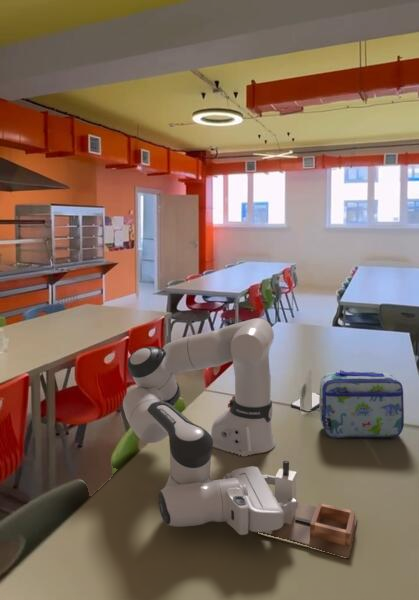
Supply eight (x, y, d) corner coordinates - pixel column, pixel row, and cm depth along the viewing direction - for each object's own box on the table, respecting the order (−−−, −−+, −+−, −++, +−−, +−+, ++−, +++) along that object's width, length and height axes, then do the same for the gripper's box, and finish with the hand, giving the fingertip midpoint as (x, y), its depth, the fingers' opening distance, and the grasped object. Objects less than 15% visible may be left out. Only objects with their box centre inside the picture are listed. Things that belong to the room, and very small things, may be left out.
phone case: (309, 414, 172) (331, 400, 184) (309, 410, 172) (331, 396, 183) (289, 407, 178) (311, 395, 190) (289, 403, 178) (311, 391, 189)
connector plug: (274, 520, 110) (275, 464, 107) (278, 510, 113) (279, 456, 111) (291, 524, 108) (292, 468, 105) (295, 514, 112) (296, 459, 109)
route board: (257, 534, 106) (257, 518, 105) (274, 500, 119) (274, 486, 118) (348, 559, 98) (349, 542, 98) (357, 520, 111) (357, 504, 110)
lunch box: (320, 439, 151) (322, 377, 148) (316, 425, 162) (318, 366, 158) (404, 442, 149) (408, 379, 145) (394, 427, 159) (398, 368, 155)
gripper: (221, 486, 118) (274, 480, 120) (242, 540, 98) (305, 531, 100) (221, 463, 116) (274, 457, 119) (243, 513, 97) (306, 504, 99)
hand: (289, 491), depth 110 cm, fingers open, 8 cm apart
